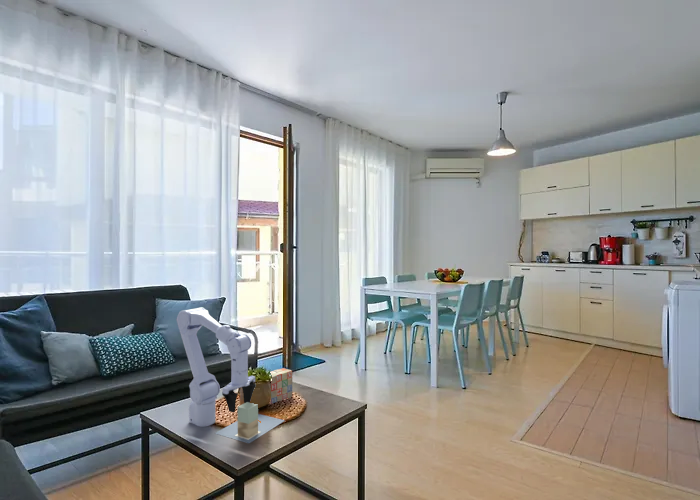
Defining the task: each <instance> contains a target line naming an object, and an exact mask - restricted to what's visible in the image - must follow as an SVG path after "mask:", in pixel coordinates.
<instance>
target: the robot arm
mask: <svg viewBox="0 0 700 500" xmlns="http://www.w3.org/2000/svg"><path fill="white" fill-rule="evenodd" d="M176 324H177V327H178V331H179V334H180V338H181V340H182V343H183V347H184V349H185V353H186V354H185V355H186V357H187V360H188V363H189V367H190V370H191V373H192V376H193V379H192V380H191V382H190V383H189V385H188V387H189V396H190V399H191V402H190V403H189V406H188V407H189V408H188V422H189V423H190V424H193V425H195V426H196V427H208V426H212V425H213V424H215V423H216V399H218V395H219V394H220V392H221V387H220V384H219V382H218V381H217V379H216V376H215V375H214V374H212V373H210V372H209V371H208V368H207V364H206V361H205V357H204V355H203V351H202V349H201V345H200V341H199V338H198V336H197V334H198V331H199V330H200V329H201V328H202V327H205V328H206V329H208V330H210V331H211V332H212V333H214V334H215V338H216V339H218V341H220V342H221V343H223V344H224V345H225V346H227V350H228V352H229V357H230V359H231V362H230V364H231V365H230V367H231V369H230V370H231V373H230V374H231V375H230V376H231V378H230V379H231V380H230V381H231V382H229V383H228V384H227V385H225V386H224V387H222V396H223V398H224V400H225V401H226V404H227V405H226V406H227V408H228V411H229V412H230V413H235V412H236V407H237V406H236V401H237V397H238V396H239V393H237V392H235V390H237V389H239V388H240V389H241V388H242V392H243V393H242V394H243V404H244V403H246V402H249V403H250V401H251V397H252V394H253V391H254V389H255V387H256V376H254V375H250V376H249V374H248V373H249V369H248V368H249V356H248V355H249V350H250V349H251V346H252V339H251V338H250V337H249V335H247V334H246V333H244V334H241V333H239V332H238V331H236V330H234V329H233V328H231V325H229V324H223V325H222V324H221V323H220V322H218V320H216V319H215V318H213V316H211V315H210V313H209V310H208V309H206V308H205V307H202V306H200V307H196V308H191V309H182V310H180V311H179V312H178V314H177V317H176Z"/></svg>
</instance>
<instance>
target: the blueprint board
mask: <svg viewBox="0 0 700 500" xmlns="http://www.w3.org/2000/svg"><path fill="white" fill-rule="evenodd" d="M258 420H259V421H261V423H260V422H259V421H258V433H256V434H255V435H253V436H252V437H250V438H245V437H242V436H239V435H238V420H236V421H234V422H233V423H231V424H229V425H227V426H225V427H223V428H221V429H220V430H218V431H216V432H214V434H216V435H219V436H222V437H226V438H229V439H233V440H236V441H240V442H243V443H246V444H251V443H253V442H254V441H255V440H257V439H258V438H260V437H262V436H263V435H265V434H266V433H268V432H269V431H271V430H273V429H274V428H275V427H277V426H279V425H280V424H282V423H283V422H285V421H286V420H284V419H281V418H278V417H277V418H276V417H273V416H268V415H265V414H261V413H258Z"/></svg>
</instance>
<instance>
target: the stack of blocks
mask: <svg viewBox="0 0 700 500" xmlns="http://www.w3.org/2000/svg"><path fill="white" fill-rule="evenodd" d="M269 372H270V373H271V375H272V381H271V401H270V405H272V404H274V403H277V402H279V401H280V402H283V401H282V400H284V399H287V398H289V399H291V398H290V397H292V398H293V370H291V369H287V368H284V367H282V368H277V369H274V370H272V371H269ZM287 400H288V399H287ZM284 401H285V400H284Z"/></svg>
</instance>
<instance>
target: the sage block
mask: <svg viewBox="0 0 700 500" xmlns="http://www.w3.org/2000/svg"><path fill="white" fill-rule="evenodd" d="M236 407H237V408H236V409H237V421H239V422H243V423H247V424H249V423H251V422H253V421H254V420H256V419H258V414H259V409H258V404H254V403H249V402H246V403H244V402H243V403H242V404H240V405H239V406H236Z"/></svg>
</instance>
